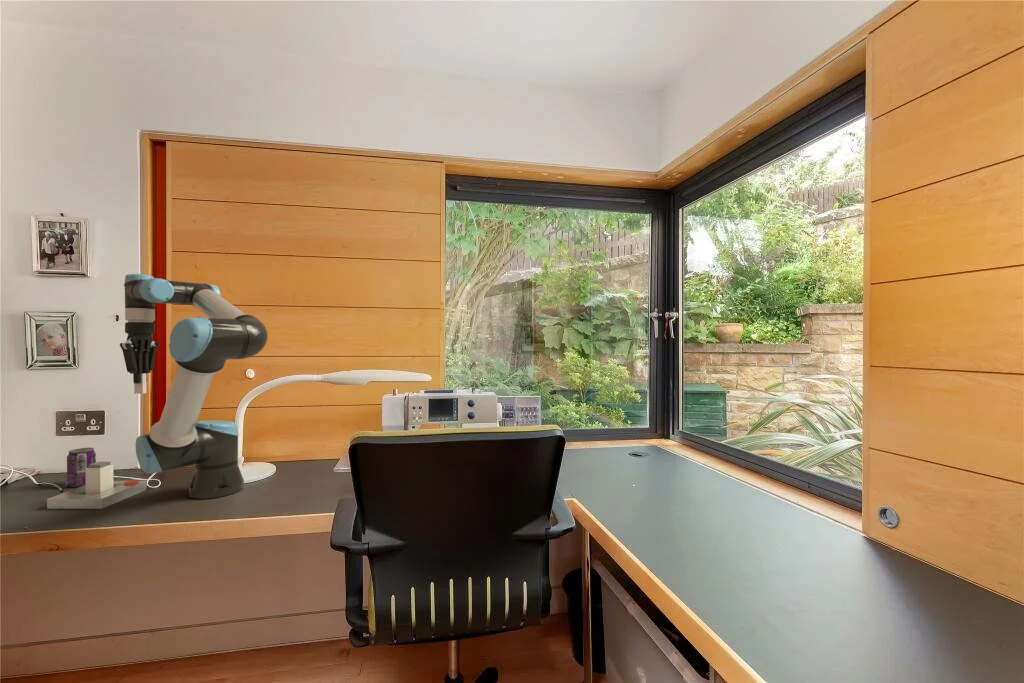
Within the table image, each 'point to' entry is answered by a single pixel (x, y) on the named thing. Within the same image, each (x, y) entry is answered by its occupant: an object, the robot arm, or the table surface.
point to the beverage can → (79, 465)
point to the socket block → (96, 496)
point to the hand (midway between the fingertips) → (140, 393)
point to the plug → (99, 478)
